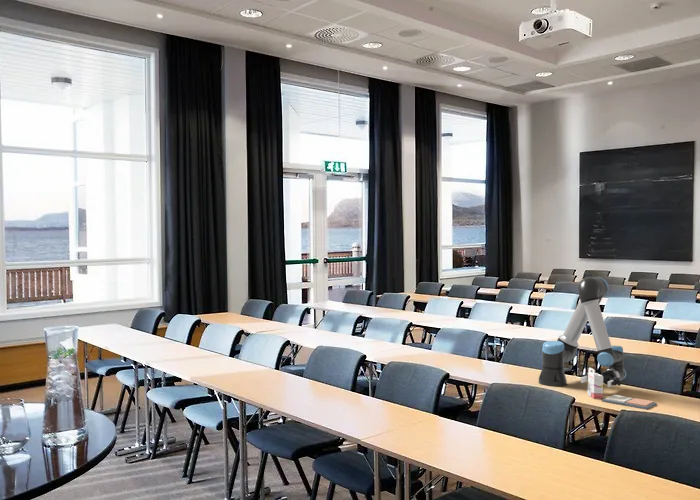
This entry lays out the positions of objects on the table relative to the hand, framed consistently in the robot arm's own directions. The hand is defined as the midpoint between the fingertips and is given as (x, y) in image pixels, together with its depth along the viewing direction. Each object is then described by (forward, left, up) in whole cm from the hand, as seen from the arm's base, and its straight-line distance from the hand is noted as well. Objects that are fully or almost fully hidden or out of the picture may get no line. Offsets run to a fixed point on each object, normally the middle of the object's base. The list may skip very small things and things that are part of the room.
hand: (594, 382), depth 318 cm
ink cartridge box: (0, +2, -8) cm, 8 cm away
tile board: (+17, +2, -8) cm, 18 cm away
